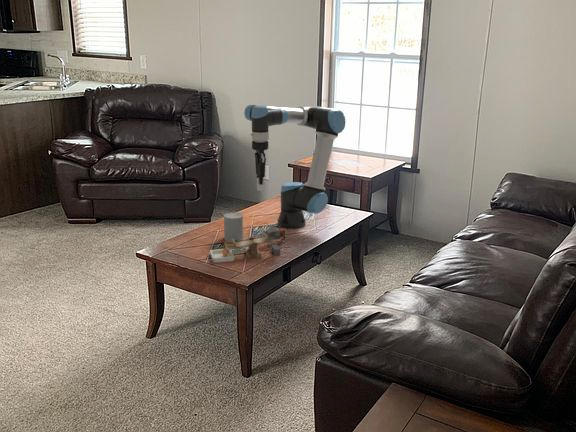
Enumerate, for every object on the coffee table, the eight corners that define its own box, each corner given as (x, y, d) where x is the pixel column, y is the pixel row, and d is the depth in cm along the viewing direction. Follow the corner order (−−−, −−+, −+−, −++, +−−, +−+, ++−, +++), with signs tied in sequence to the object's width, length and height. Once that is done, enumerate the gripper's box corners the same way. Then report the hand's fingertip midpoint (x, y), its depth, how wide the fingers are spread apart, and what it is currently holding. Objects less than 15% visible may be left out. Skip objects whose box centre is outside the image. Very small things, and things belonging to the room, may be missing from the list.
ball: (227, 246, 273) (220, 249, 272) (228, 249, 270) (221, 251, 269) (229, 252, 274) (222, 255, 274) (230, 255, 271) (223, 258, 271)
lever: (278, 236, 280) (277, 227, 278) (281, 241, 274) (280, 230, 273) (224, 246, 274) (223, 236, 272) (226, 250, 269) (225, 240, 267)
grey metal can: (240, 242, 290) (239, 219, 286) (221, 241, 292) (221, 217, 288) (245, 236, 299) (245, 213, 295) (227, 234, 301) (226, 211, 297)
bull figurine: (259, 243, 290) (259, 227, 287) (284, 239, 295) (284, 224, 292) (262, 246, 286) (262, 230, 283) (287, 242, 291) (287, 227, 288)
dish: (230, 252, 278) (230, 248, 278) (234, 260, 268) (234, 256, 268) (209, 254, 276) (209, 250, 275) (213, 262, 266) (213, 258, 265)
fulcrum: (257, 250, 280) (257, 236, 278) (261, 257, 273) (261, 242, 270) (245, 251, 279) (244, 237, 277) (248, 258, 271) (248, 243, 269)
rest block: (277, 249, 282) (277, 244, 281) (280, 254, 276) (280, 249, 276) (271, 250, 281) (271, 245, 280) (274, 254, 276) (274, 250, 275)
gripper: (249, 138, 271) (249, 187, 278) (255, 143, 259) (255, 194, 266) (264, 137, 272) (264, 186, 280) (271, 143, 261) (271, 193, 268)
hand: (260, 190), depth 273 cm, fingers closed
